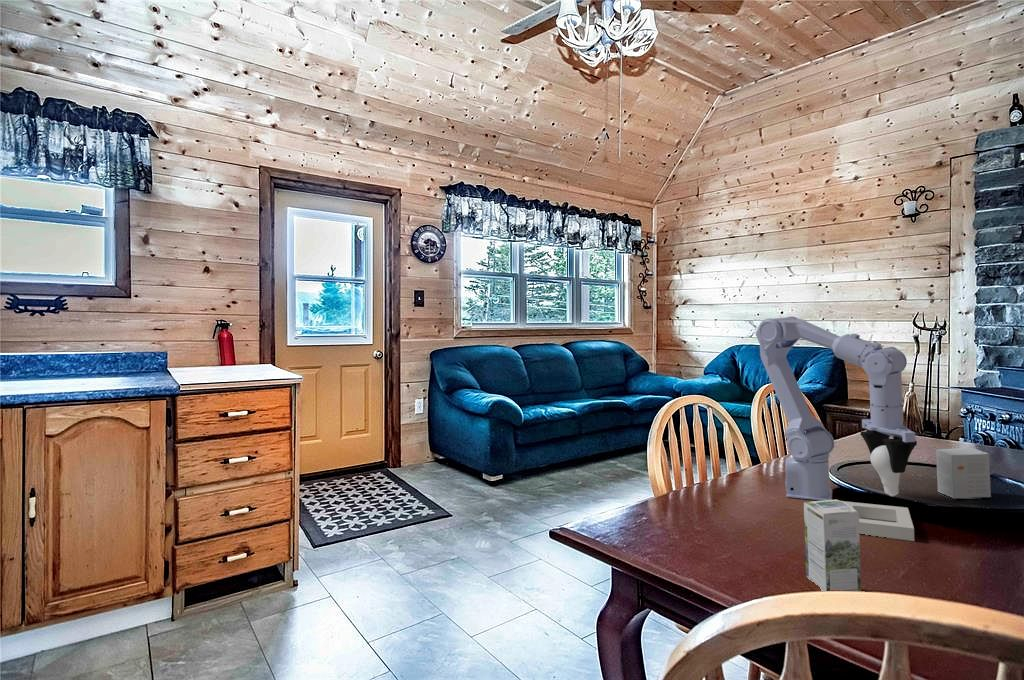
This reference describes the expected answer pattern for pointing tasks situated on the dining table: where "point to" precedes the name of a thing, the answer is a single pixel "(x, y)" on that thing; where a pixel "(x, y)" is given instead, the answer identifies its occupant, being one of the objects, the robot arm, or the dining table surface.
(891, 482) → the lightbulb
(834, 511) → the syrup box
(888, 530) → the white shallow tray
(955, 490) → the small box
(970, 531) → the dining table surface
